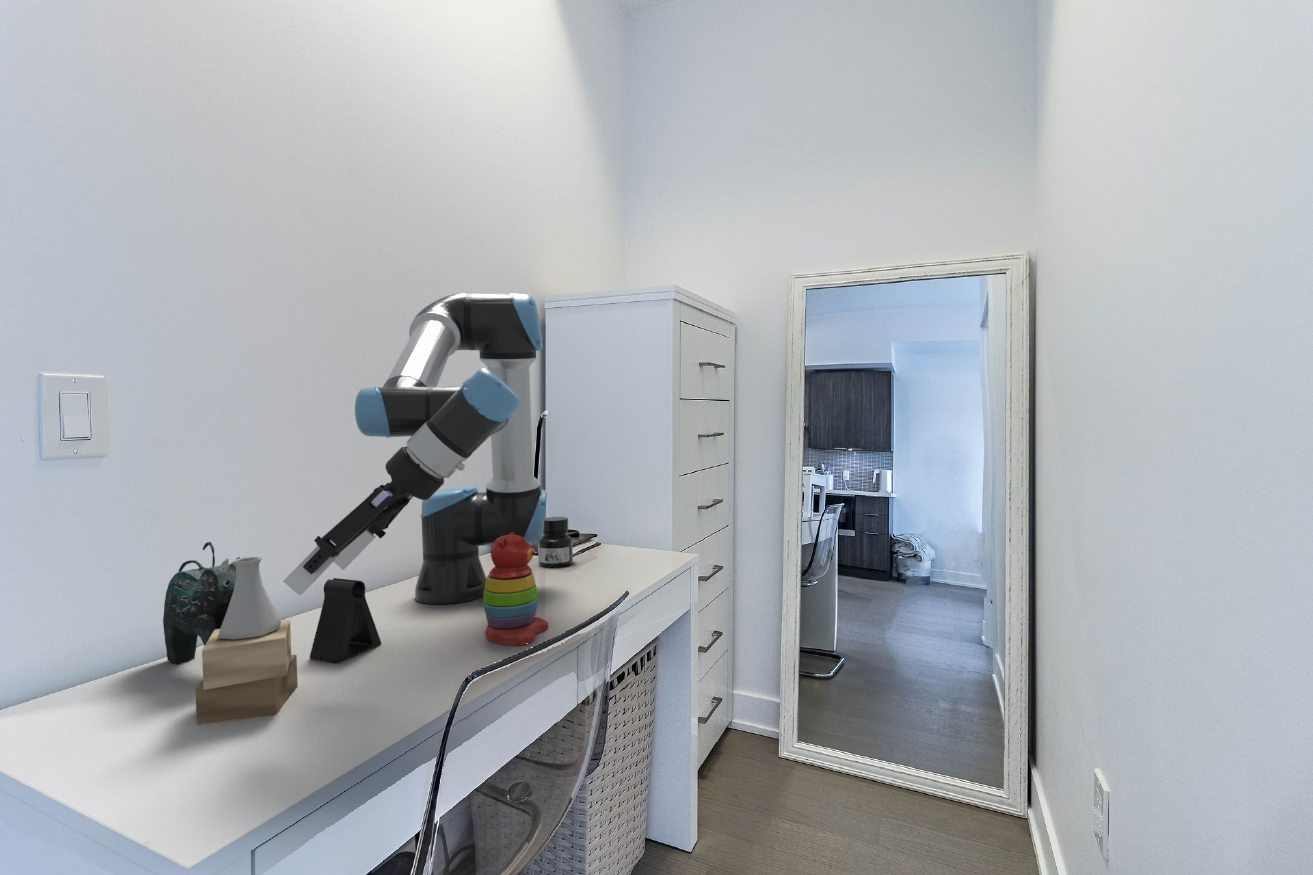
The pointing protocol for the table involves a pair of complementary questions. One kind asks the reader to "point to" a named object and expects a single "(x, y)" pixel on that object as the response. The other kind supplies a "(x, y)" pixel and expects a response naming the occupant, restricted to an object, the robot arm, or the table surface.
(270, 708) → the block lower
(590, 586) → the table surface
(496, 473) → the robot arm
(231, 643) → the block upper
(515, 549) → the stacking bear
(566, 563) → the ink bottle
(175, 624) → the ceramic cat
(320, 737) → the table surface
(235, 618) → the flask
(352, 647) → the phone stand
